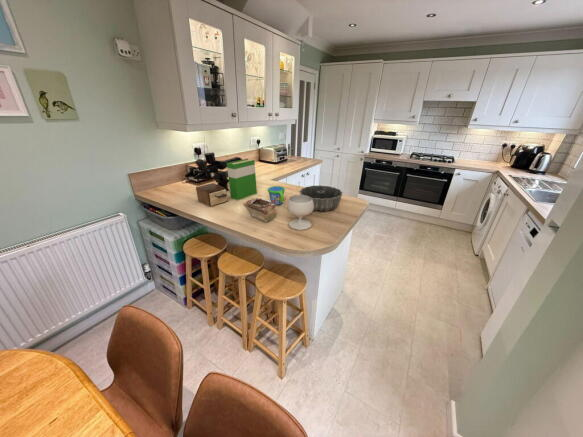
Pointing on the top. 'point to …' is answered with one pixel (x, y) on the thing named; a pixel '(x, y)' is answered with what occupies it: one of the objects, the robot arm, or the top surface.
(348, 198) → the top surface
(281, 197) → the snack cup
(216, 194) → the drawer
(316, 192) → the bundt pan
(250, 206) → the lined basket
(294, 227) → the chalice
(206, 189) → the cabinet
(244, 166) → the green cereal box
